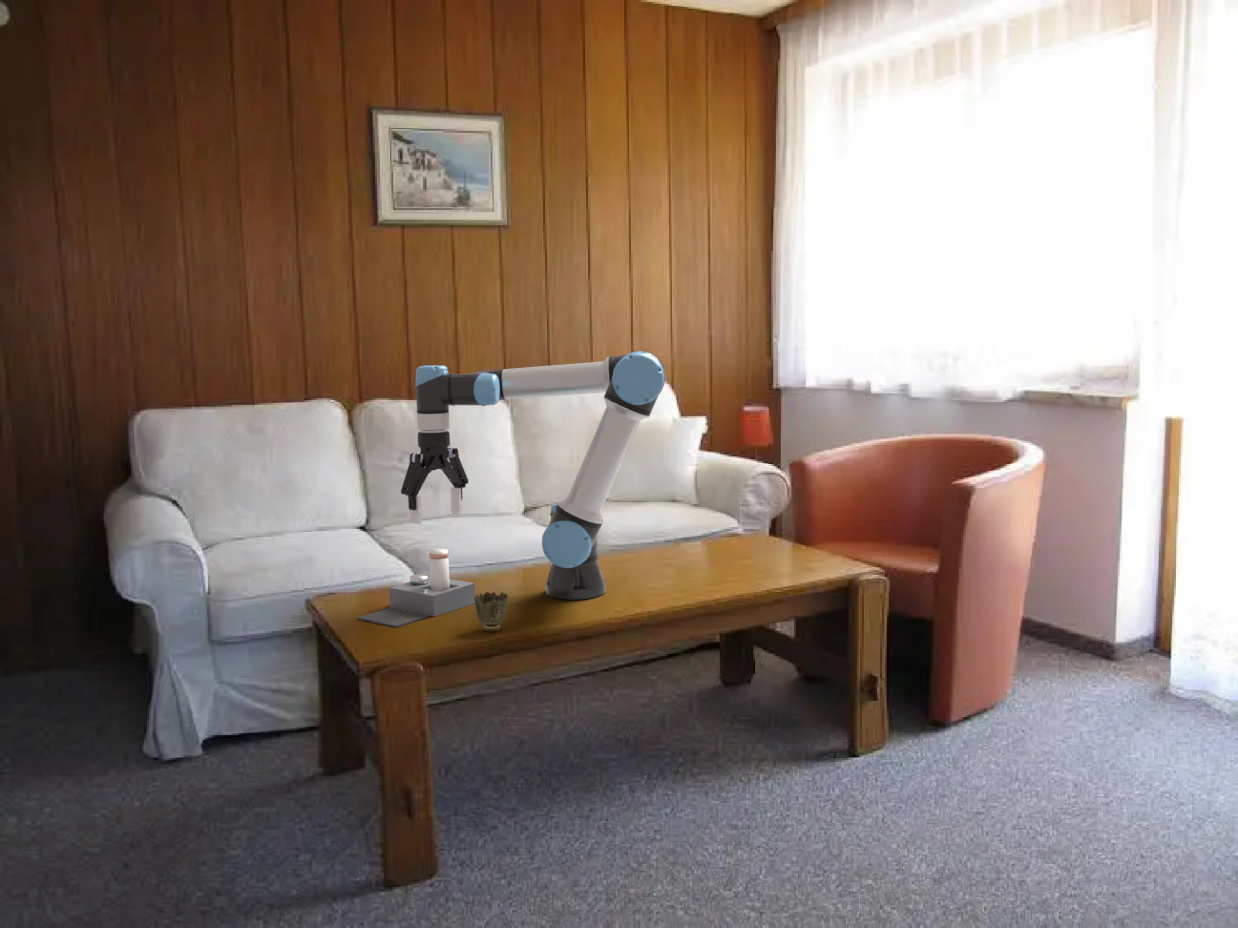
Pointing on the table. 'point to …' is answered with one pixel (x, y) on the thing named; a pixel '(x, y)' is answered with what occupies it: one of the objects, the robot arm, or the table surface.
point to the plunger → (419, 579)
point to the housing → (432, 597)
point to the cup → (491, 610)
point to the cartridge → (439, 569)
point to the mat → (393, 617)
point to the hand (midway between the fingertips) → (436, 518)
